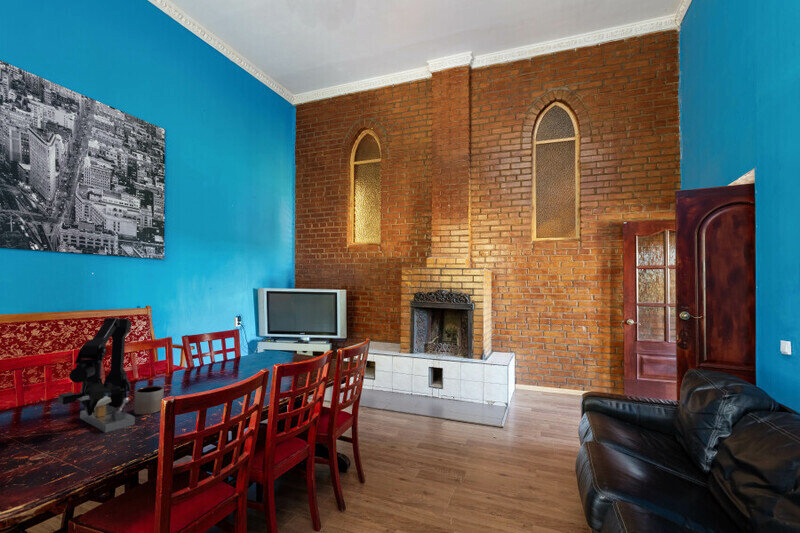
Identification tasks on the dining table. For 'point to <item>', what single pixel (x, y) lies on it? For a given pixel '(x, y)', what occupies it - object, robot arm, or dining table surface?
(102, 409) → the slider
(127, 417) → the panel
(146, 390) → the planter
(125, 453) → the dining table surface
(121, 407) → the toggle
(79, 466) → the dining table surface
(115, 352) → the robot arm
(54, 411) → the dining table surface
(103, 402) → the rocker
